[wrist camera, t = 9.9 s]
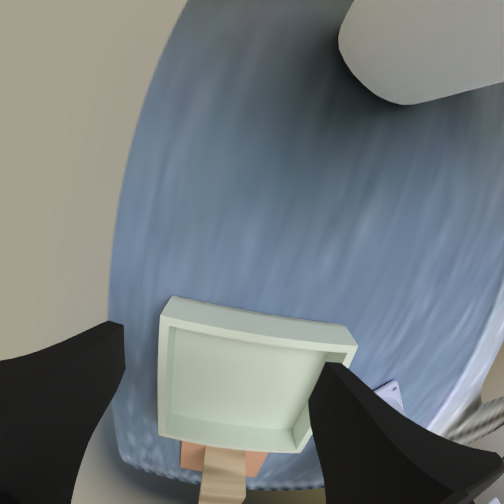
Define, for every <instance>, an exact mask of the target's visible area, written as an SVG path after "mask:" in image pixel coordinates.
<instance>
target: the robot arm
mask: <svg viewBox="0 0 504 504" xmlns="http://www.w3.org/2000/svg"><path fill="white" fill-rule="evenodd" d="M124 371H125V353H124V325H122V324H118V323H115V322H112V321H106V322H104V323H101V324H99V325H97V326H95V327H93V328H91V329H88V330H86V331H84V332H82V333H80V334H78V335H76V336H73V337H71V338H69V339H67V340H65V341H62V342H60V343H57V344H55V345H52V346H50V347H47V348H45V349H42V350H40V351H37V352H34V353H31V354H28V355H25V356H20V357H17V358H13V359H7V360H2V361H0V504H71V499H72V495H73V490H74V486H75V482H76V478H77V475H78V471H79V468H80V465H81V462H82V459H83V456H84V453H85V450H86V448H87V445H88V442H89V440H90V438H91V436H92V434H93V432H94V430H95V428H96V426H97V425H98V423H99V421H100V419H101V417H102V416H103V414H104V412H105V410H106V408H107V407H108V405H109V403H110V401H111V400H112V398H113V396H114V394H115V393H116V391H117V389H118V386H119V384H120V381H121V379H122V376H123V374H124ZM308 408H309V418H310V425H311V429H312V433H313V437H314V441H315V445H316V449H317V452H318V456H319V460H320V464H321V468H322V472H323V477H324V485H325V494H326V504H475V503H474V501H473V499H475V498H476V497H477V496H478V495H480V494H481V493H482V492H483V491H484V490H485V489H487V488H488V487H489V486H490V485H491V484H493V483H494V482H495V481H496V480H497V479H498V478H499V477H500V476H501V475H502V474H503V473H504V461H503V460H502V458H501V457H500V456H499V455H498V454H497V453H496V452H490V451H484V450H479V449H474V448H471V447H467V446H464V445H461V444H458V443H455V442H452V441H450V440H447V439H445V438H443V437H441V436H439V435H436V434H434V433H432V432H430V431H428V430H426V429H425V428H423V427H421V426H420V425H418V424H416V423H415V422H413V421H411V420H410V419H408V417H407V416H406V414H405V412H404V408H403V404H402V399H401V394H400V390H399V386H398V383H397V381H396V380H393V381H391V382H389V383H387V384H386V385H384V386H382V387H380V388H379V389H377V390H375V391H373V390H371V389H370V388H369V387H368V386H367V385H366V384H365V383H364V382H362V381H361V380H360V379H359V378H358V377H357V376H356V375H355V374H354V373H352V372H351V371H350V370H349V369H348V368H347V367H345V366H344V365H343V364H342V363H337V362H325V364H324V367H323V369H322V371H321V373H320V376H319V378H318V380H317V382H316V384H315V387H314V389H313V391H312V393H311V395H310V397H309V399H308ZM487 504H500V503H499V501H498V499H497V498H494V499H493V500H491V501H490V502H488V503H487Z"/></svg>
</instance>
